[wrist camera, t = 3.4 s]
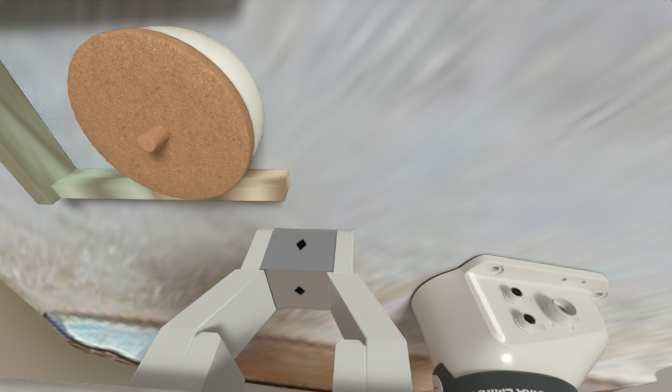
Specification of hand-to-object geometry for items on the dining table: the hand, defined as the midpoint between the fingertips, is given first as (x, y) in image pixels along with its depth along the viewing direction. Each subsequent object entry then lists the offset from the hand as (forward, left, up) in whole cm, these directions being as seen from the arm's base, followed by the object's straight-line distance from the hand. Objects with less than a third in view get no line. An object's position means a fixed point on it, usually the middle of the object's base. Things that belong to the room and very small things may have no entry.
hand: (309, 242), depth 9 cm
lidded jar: (+10, 0, -17) cm, 20 cm away
